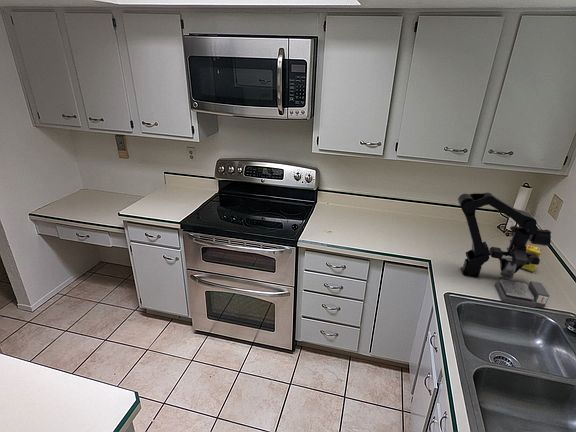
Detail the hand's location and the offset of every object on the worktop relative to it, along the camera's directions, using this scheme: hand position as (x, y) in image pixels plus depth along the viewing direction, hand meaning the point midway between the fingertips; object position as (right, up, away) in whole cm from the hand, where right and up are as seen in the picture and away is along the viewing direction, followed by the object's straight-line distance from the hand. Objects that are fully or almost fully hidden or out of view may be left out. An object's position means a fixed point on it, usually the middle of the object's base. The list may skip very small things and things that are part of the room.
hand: (507, 271), depth 159 cm
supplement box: (+16, 0, +11) cm, 20 cm away
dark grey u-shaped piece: (-2, -9, -10) cm, 14 cm away
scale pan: (-3, -6, -11) cm, 13 cm away
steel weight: (0, -2, +1) cm, 2 cm away
